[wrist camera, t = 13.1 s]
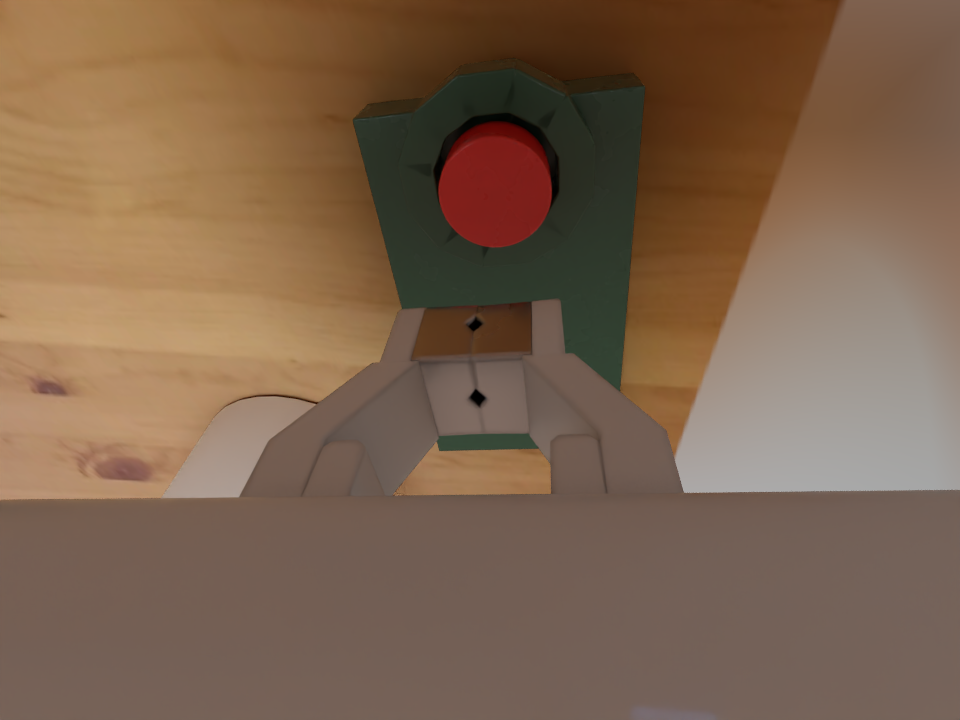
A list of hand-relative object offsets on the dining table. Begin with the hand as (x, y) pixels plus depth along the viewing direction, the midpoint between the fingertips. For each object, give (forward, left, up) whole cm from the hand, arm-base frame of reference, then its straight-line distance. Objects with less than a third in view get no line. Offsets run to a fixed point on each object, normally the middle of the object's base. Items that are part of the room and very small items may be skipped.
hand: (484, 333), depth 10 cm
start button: (0, 0, -9) cm, 9 cm away
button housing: (0, +7, -13) cm, 15 cm away
